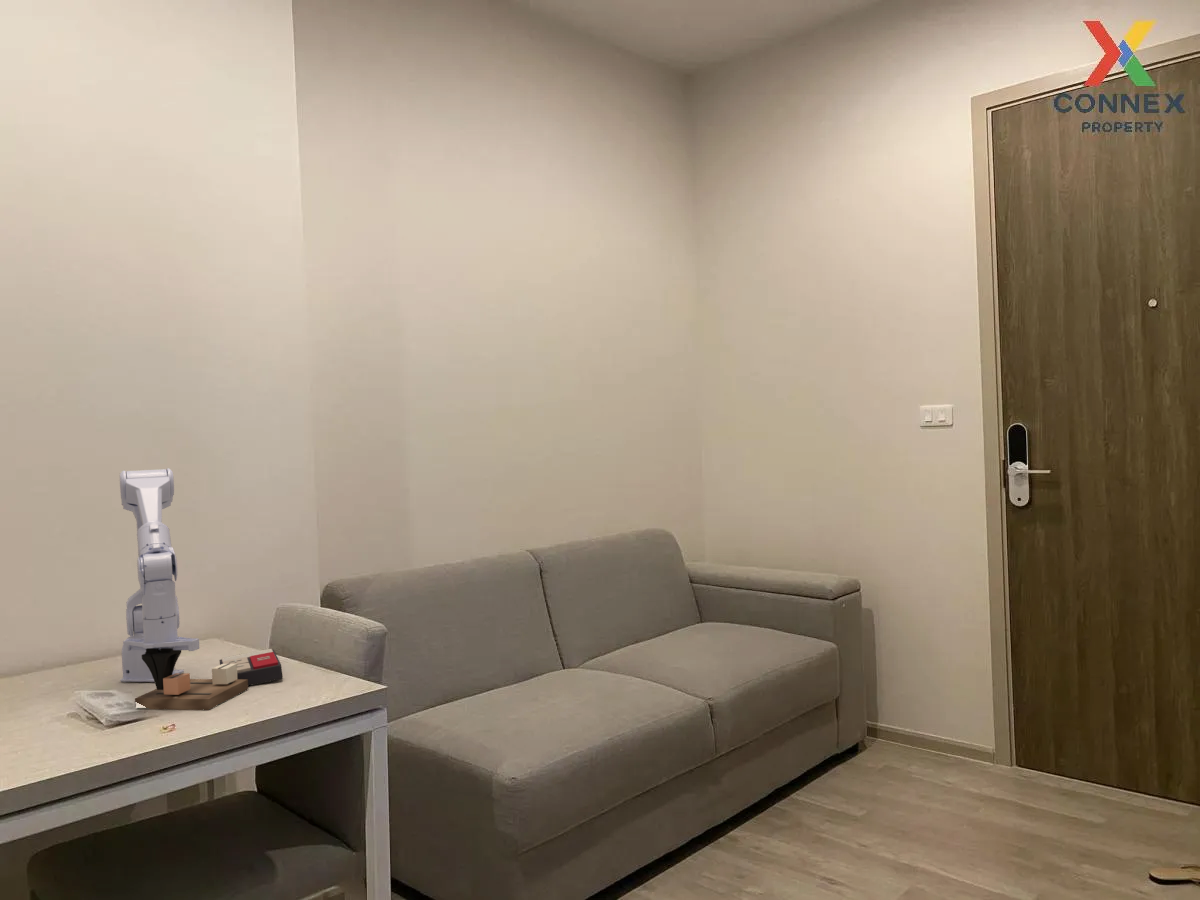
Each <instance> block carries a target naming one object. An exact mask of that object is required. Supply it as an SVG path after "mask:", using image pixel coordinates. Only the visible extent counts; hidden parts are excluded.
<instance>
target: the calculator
mask: <svg viewBox="0 0 1200 900" xmlns="http://www.w3.org/2000/svg"><path fill="white" fill-rule="evenodd" d="M228 663H231V664H237V679H248V687H250V686H255V685H260V684H264V683H265V684H266V683H269V682H274V681H280V680H282V679H283V669H282V664H281V662H280V660H279V657H278V655H277V654H276V651H275V650H274V649H273V648H269V649H263V650H262V649H261V650H257V651H252V652H247V653H241V654H236V655H231V656H225V657H222V658H221V659H219V665H221V664H228ZM249 685H250V686H249Z"/></svg>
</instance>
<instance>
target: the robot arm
mask: <svg viewBox="0 0 1200 900" xmlns="http://www.w3.org/2000/svg"><path fill="white" fill-rule="evenodd" d="M174 480H175V479H174V472H173V470H172V469H171V468H169V467H167V468H164V469H163V468H161V469H142V470H141V469H139V470H125V469H124V470H121V472H120V473H119V489H120V490H119V491H120V500H121V505H122V508H123V510H126V511H129V512H132V513H133V517H134V519H135V522H136V538H137V539H136V540H137V553H138V556H137V560H136V562H137V563H136V564H137V565H136V566H137V579H138V580H137V581H138V583H139V589H138V590H137V591H135V593H133V594H131V596H129V597H128V599H127V601H126V604H125V605H126V609H125V610H126V611H125V614H126V616H125V618H126V632H127V635H128V637H127V638H126V639H124V640H123V641H122V642H123V643H122V647H121V665H122V667H121V668H122V678H120V681H119V682H125V683H127V682H129V683H131V682H133V683H134V682H135V683H138V682H139V683H140V682H143V683H146V682H147V683H148V682H149V683H154V684H155V686H156V688H155V689H157V690H164V687H163V678H165V677H168V676H170V675H172V674H175V673H185V670H184V669H175V666H176V665H177V662H178V660H179V657H180V656H181V654H182V651H188V652H195V651H198V650H200V638H192V637H184V636H183V637H182V636H178V629H180V611H179V610H180V608H179V603H178V597H177V595H176V582H177V578H178V560H177V556H176V555H177V554H176V552H175V550H174V547H173V546H172V540H171V533H170V528H169V527H168V525H167V524H165V523H163V518H162V517H163V516H162V515H163V510H164V509H166V508H169V507H170V506H171V504H172V502H173V498H174V495H175V483H174V482H175V481H174ZM173 577H174V580H173Z"/></svg>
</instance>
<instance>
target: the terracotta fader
mask: <svg viewBox="0 0 1200 900" xmlns="http://www.w3.org/2000/svg"><path fill="white" fill-rule="evenodd" d="M190 675H191V673H190V672H189V673H185V672H182V673H175V674H172V675H170V676H168V677H165V678H163V687H164V695H179V694H181V693H183V692H185V691H188V690H190V679H191V676H190Z"/></svg>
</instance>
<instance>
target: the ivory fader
mask: <svg viewBox="0 0 1200 900" xmlns="http://www.w3.org/2000/svg"><path fill="white" fill-rule="evenodd" d="M211 679H212V682H213V684H228V683H230V682H232V681H234V680H237V664H231V663H228V664H221V665H220V664H219V665H217V666H215V667H212V668H211Z"/></svg>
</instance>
